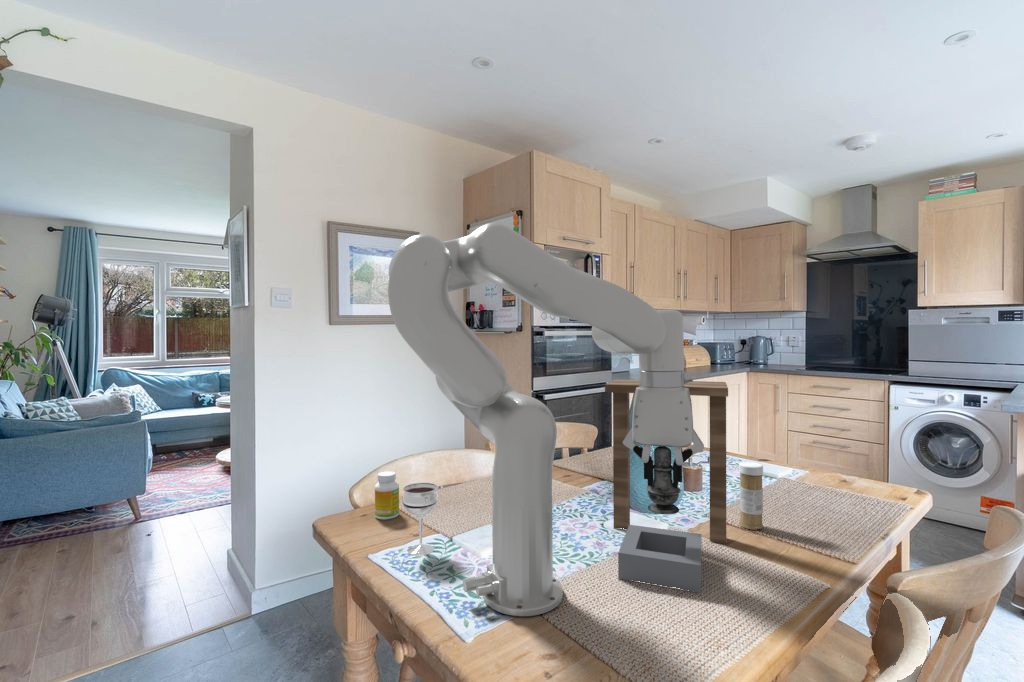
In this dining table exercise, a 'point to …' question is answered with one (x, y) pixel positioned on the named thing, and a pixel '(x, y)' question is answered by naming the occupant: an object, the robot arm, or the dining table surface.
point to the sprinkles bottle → (751, 495)
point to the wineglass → (420, 509)
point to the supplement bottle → (386, 496)
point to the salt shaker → (663, 484)
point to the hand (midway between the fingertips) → (663, 483)
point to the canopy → (717, 451)
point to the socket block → (661, 557)
